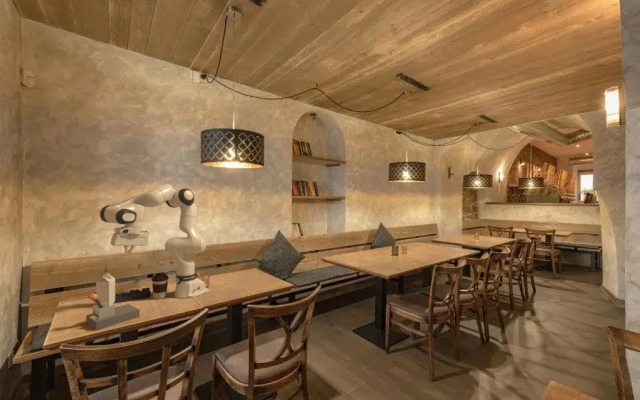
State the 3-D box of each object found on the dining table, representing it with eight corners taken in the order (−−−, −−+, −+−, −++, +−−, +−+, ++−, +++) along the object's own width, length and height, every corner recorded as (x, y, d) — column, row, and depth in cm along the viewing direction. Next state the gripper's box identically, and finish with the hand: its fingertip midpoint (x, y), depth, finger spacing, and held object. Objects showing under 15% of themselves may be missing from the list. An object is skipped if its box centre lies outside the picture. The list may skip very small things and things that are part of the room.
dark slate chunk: (111, 297, 192) (111, 290, 192) (149, 291, 205) (149, 285, 205) (110, 305, 180) (110, 297, 179) (151, 298, 192) (151, 291, 192)
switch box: (128, 310, 170) (128, 295, 170) (139, 316, 162) (139, 300, 162) (86, 322, 154) (86, 305, 154) (96, 330, 146) (96, 312, 146)
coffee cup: (161, 300, 187) (161, 277, 187) (147, 299, 189) (147, 276, 189) (171, 295, 197) (172, 273, 196) (159, 294, 199) (159, 272, 198)
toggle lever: (106, 309, 156) (93, 292, 152) (109, 311, 155) (96, 293, 150) (100, 314, 154) (87, 296, 150) (103, 315, 152) (89, 297, 148)
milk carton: (96, 307, 175) (96, 275, 174) (102, 303, 182) (102, 272, 181) (109, 306, 176) (109, 275, 176) (115, 302, 183) (115, 272, 183)
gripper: (146, 230, 186) (142, 251, 185) (111, 228, 168) (106, 252, 167) (152, 231, 183) (148, 253, 182) (117, 230, 165) (113, 254, 164)
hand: (128, 253), depth 174 cm, fingers closed
